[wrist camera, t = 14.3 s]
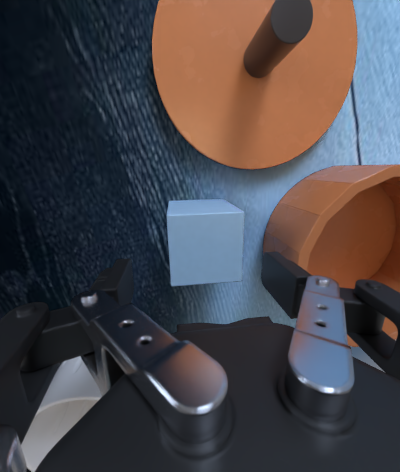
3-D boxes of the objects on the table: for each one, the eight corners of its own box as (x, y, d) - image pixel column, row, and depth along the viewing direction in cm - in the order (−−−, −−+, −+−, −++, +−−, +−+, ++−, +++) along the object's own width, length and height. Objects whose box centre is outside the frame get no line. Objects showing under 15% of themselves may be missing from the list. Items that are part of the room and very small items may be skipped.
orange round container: (258, 307, 24) (287, 354, 18) (267, 167, 20) (309, 166, 14) (381, 297, 26) (446, 337, 20) (413, 164, 22) (509, 162, 15)
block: (172, 252, 22) (171, 287, 15) (168, 200, 20) (166, 215, 14) (223, 249, 22) (242, 281, 16) (223, 198, 21) (245, 211, 14)
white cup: (121, 375, 25) (88, 502, 15) (64, 332, 23) (-15, 451, 13) (175, 333, 24) (175, 440, 15) (122, 285, 22) (82, 374, 12)
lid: (160, 171, 19) (155, 172, 13) (144, -77, 15) (124, -237, 9) (331, 167, 21) (392, 167, 15) (364, -58, 16) (468, -184, 11)
